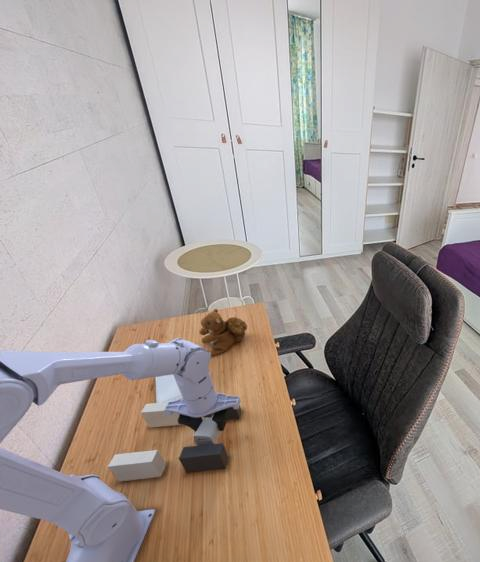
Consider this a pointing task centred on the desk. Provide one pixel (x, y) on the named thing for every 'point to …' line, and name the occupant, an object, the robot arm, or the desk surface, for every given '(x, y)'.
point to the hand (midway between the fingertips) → (212, 428)
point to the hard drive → (167, 389)
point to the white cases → (146, 461)
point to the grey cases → (207, 451)
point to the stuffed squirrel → (221, 331)
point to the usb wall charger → (207, 432)
